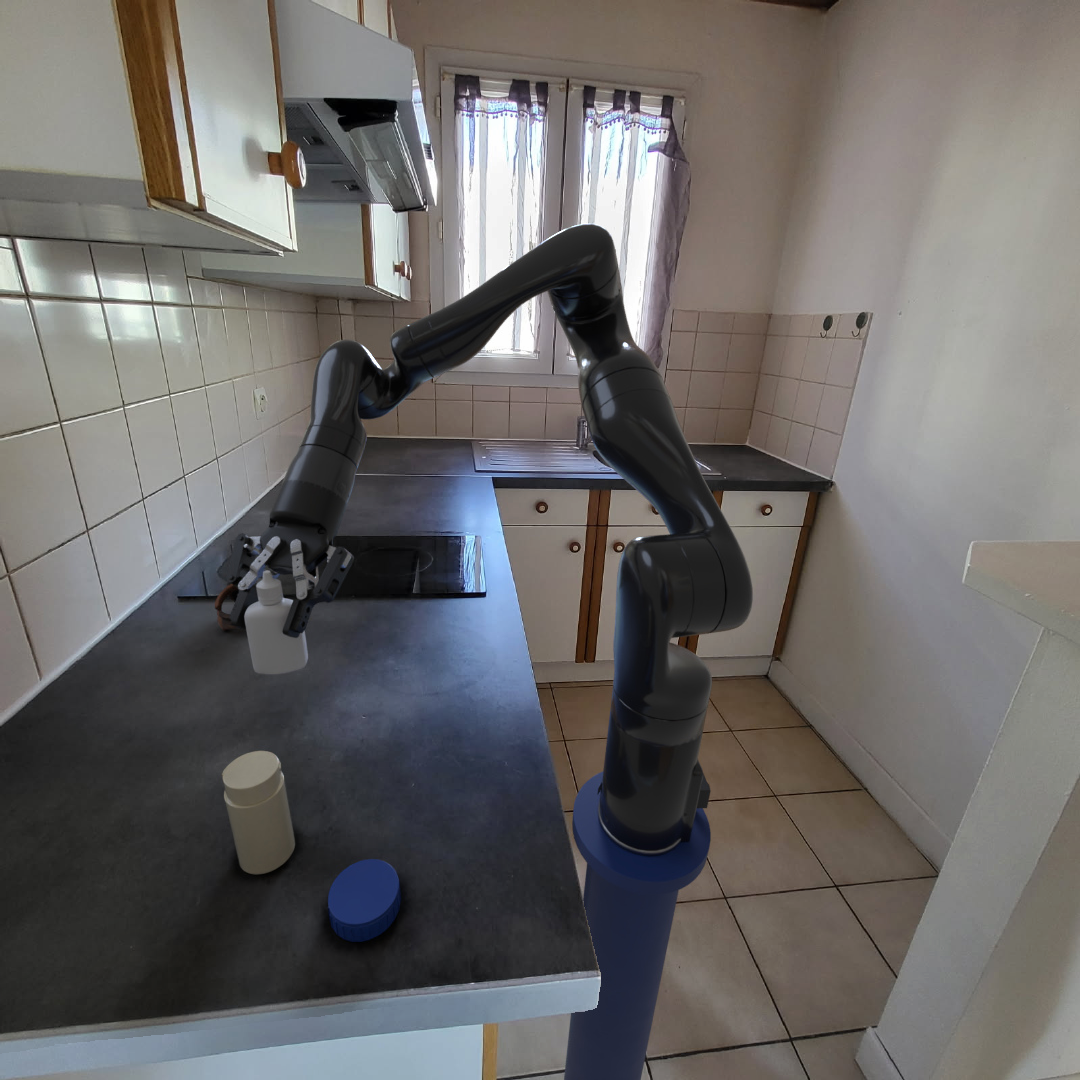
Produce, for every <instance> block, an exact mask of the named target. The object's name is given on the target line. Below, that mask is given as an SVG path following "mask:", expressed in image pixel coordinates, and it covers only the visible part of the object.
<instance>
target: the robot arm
mask: <svg viewBox="0 0 1080 1080" xmlns="http://www.w3.org/2000/svg"><path fill="white" fill-rule="evenodd" d="M622 285H623V284H622V278H621V273H620V268H619V261H618V257H617V251H616V246H615V242H614V239H613V237H612V234H610V232H609V231H608V230H607V229H606V228H604V227H603V226H601V225H599V224H595V223H582V224H577V225H574V226H573V225H572V226H571V227H568V228H564V229H563V230H561V231H559V232H557V233H555V234H554V235H551V236H550V237H549V238H547V239H546V240H544V241H542V242H541V243H539V244H538V245H536V246H535V247H534V248H532V249H531V250H529V251H528V252H527V253H525V254H523V255H522V256H521V257H519V258H517V259H516V260H515V261H513V262H512V263H510V264H508V265H507V266H506V267H504V268H503V269H502V270H500V271H499V272H497V273H496V274H495V275H493V276H491V278H489V279H488V280H486V281H485V282H483V283H482V284H481V285H479V286H477V287H476V288H475V289H473V290H472V291H470V292H469V293H467V294H466V295H464V296H463V297H461V298H459V299H458V300H456V301H454V302H452V303H451V304H448V305H447V306H445V307H443V308H441V309H438V310H436V311H434V312H432V313H430V314H428V315H426V316H424V317H422V318H419V319H418V320H415V321H413V322H412V323H409V324H407V325H405V326H403V327H401V328H399V329H397V330H395V331H394V332H393V333H392V334H391V335H390V338H389V347H390V351H391V354H392V357H393V359H394V360H393V361H392V362H391V363H390V364H389V365H388V366H387V367H386V368H383V369H382V367H381V366H380V364H379V363H378V361H377V360H376V359H375V357H374V356H373V355H372V353H371V352H370V351H369V350H368V349H367V347H365V346H364V345H363V344H362V343H360V342H358V341H356V340H353V339H341V340H337V341H335V342H333V343H331V345H329V346H328V347H327V348H325V350H323V352H322V353H321V355H320V356H319V358H318V360H317V362H316V366H315V367H314V372H313V378H312V388H311V398H310V409H309V412H310V413H309V422H308V425H307V427H306V429H305V432H304V434H303V436H302V439H301V442H300V444H299V447H298V449H297V451H296V453H295V455H294V456H293V458H292V460H291V462H290V463H289V465H288V467H287V470H286V472H285V475H284V477H283V480H282V482H281V485H280V488H279V490H278V493H277V495H276V498H275V499H274V502H273V505H272V507H271V510H270V511H269V525H268V526H267V528H266V530H265V531H263V532H262V533H261V535H259V536H258V535H257V536H249V535H248V534H245V533H243V532H242V533H241V532H240V533H238V534H237V535H236V537H235V539H234V540H235V541H234V545H233V548H232V552H231V558H230V560H229V565H228V569H227V573H226V578H225V580H226V582H227V583H230V584H232V585H234V586H236V587H237V588H238V590H239V594H238V596H237V599H236V601H235V602H234V604H233V607H232V610H231V611H230V613H229V614H230V620H231V625H232V626H234V627H237V629H239V630H246V625H245V618H244V616H245V612H246V610H247V608H248V607H249V606H250V605H252V604H253V603H256V602H258V601H259V600H258V597H257V596H258V594H257V588H256V585H257V583H258V582H260V581H262V580H263V572H264V571H267V570H269V571H270V572H271V574H272V577H273V579H278V578H279V577H280V575H283V576H288V575H292V577H293V580H294V582H295V593H296V595H295V597H296V598H297V599H292V600H293V602H292V605H291V608H290V611H289V613H288V616H287V619H286V622H285V624H284V627H283V634H284V635H287V636H289V637H293V638H298V637H299V635H300V633H303V632H304V630H306V629H307V625H308V623H309V620H310V617H311V614H312V612H313V609H314V606H316V605H318V603H319V604H320V603H332V602H333V601H334V599H335V597H336V595H338V591H340V588H341V586H342V584H343V582H344V580H345V579H346V577H347V574H348V572H349V570H350V569H351V567H352V565H353V563H354V561H355V556H354V555H353V554H352V553H351V552H349V550H347V549H346V548H345V547H344V546H337V547H335V546H334V545H333V540H334V539H335V538H336V537H337V535H338V532H339V529H340V526H341V524H342V520H343V518H344V514H345V512H346V509H347V506H348V504H349V501H350V498H351V495H352V492H353V489H354V485H355V479H356V475H357V471H358V468H359V465H360V463H361V460H362V457H363V454H364V451H365V447H366V444H367V439H368V432H367V430H366V427H365V425H364V423H363V420H364V421H365V420H368V421H369V420H376V419H379V418H382V417H384V416H386V415H387V414H389V413H390V412H392V411H393V410H394V409H396V408H397V407H398V406H399V405H400V404H401V403H402V402H403V401H405V400H406V399H407V398H408V397H410V395H412V394H413V393H414V392H416V390H418V388H420V387H421V386H422V385H423V384H425V383H426V382H428V381H429V380H432V379H434V378H437V377H439V376H441V375H443V374H445V373H448V372H449V371H452V370H454V369H456V368H458V367H460V366H462V365H464V364H466V363H467V362H469V361H471V360H472V359H473V358H475V357H476V356H477V355H478V354H479V353H480V352H481V351H482V350H483V349H484V348H485V347H486V346H487V344H488V343H489V341H491V340H492V338H493V337H494V335H495V334H496V333H497V332H498V330H499V329H500V328H501V326H503V324H504V323H505V322H506V321H507V319H508V318H509V317H511V315H512V314H513V313H515V311H517V310H518V309H519V308H520V307H521V306H522V305H523V304H525V303H527V302H528V301H530V300H532V299H533V298H535V297H537V296H540V295H542V294H545V293H546V292H547V295H548V298H549V301H550V304H551V308H552V311H553V313H554V315H555V317H556V319H557V321H558V324H559V326H560V327H561V329H562V331H563V333H564V335H565V337H566V339H567V341H568V343H569V345H570V348H571V350H572V352H573V355H574V357H575V360H576V365H577V386H578V394H579V395H578V396H579V401H580V404H581V409H582V413H583V417H584V419H585V423H586V426H587V429H588V432H589V436H590V439H591V441H592V444H593V447H594V448H595V450H596V452H597V453H598V454H599V456H600V457H601V458H602V459H603V460H604V462H605V463H606V464H607V465H608V466H609V467H610V468H611V469H612V470H613V471H614V472H615V473H617V475H618V476H620V477H621V478H622V479H623V480H624V481H626V483H628V484H629V485H630V486H631V487H632V488H633V489H635V490H636V491H637V492H638V493H640V495H641V496H642V497H644V499H646V500H647V501H648V502H649V504H650V505H651V506H652V507H653V508H654V510H656V512H657V513H658V514H659V516H660V518H661V520H662V521H663V523H664V525H665V527H666V529H667V531H668V533H669V534H656V535H653V534H652V535H644V536H643V535H642V536H637V537H634V538H633V539H631V540H630V541H629V542H627V544H626V545H625V547H624V549H623V550H622V552H621V555H620V558H619V563H618V568H617V575H616V590H615V595H616V596H615V613H614V614H615V615H614V630H613V631H614V632H613V641H612V642H613V643H612V644H613V645H612V646H613V647H612V648H613V649H612V650H613V651H612V652H613V668H614V672H613V681H612V691H611V698H610V699H611V701H610V710H609V719H608V727H607V734H606V743H605V753H604V761H603V771H602V772H603V778H602V783H601V784H600V786H599V788H598V794H599V792H600V791H601V794H600V801H599V806H598V818H599V822H600V825H601V827H602V829H603V831H604V833H605V834H606V835H607V836H608V838H609V839H610V840H611V841H612V842H613V843H615V844H616V845H617V846H619V847H620V848H622V849H624V850H626V851H628V852H630V853H633V854H637V855H641V856H659V855H663V854H666V853H668V852H670V851H672V850H673V849H675V848H676V847H677V846H678V845H679V844H680V843H682V842H689V841H690V838H691V833H692V828H693V823H694V818H695V813H696V808H703V809H708V806H709V801H710V796H711V792H712V791H711V786H710V783H708V781H707V779H706V776H705V773H704V770H703V768H702V765H701V762H700V761H699V753H700V748H701V743H702V739H703V734H704V728H705V723H706V718H707V712H708V708H709V703H710V700H711V699H710V697H711V693H712V686H713V678H712V673H711V670H710V668H709V666H708V665H707V664H706V663H705V661H704V660H703V659H702V658H701V657H699V656H698V655H697V654H695V653H694V652H692V651H691V650H689V649H688V648H686V647H684V646H682V645H679V644H676V643H673V642H671V640H672V639H674V638H684V637H692V636H701V635H708V634H715V633H721V632H727V631H732V630H735V629H738V628H739V627H741V626H743V624H745V622H746V621H747V620H748V618H749V617H750V614H751V612H752V608H753V602H754V591H753V590H754V589H753V581H752V577H751V572H750V567H749V565H748V562H747V560H746V556H745V554H744V551H743V549H742V547H741V545H740V543H739V541H738V539H737V537H736V535H735V533H734V531H733V530H732V528H731V526H730V524H729V521H728V520H727V518H726V517H725V514H724V513H723V511H722V509H721V508H720V505H719V504H718V502H717V499H716V497H715V496H714V494H713V492H712V491H711V489H710V488H709V486H708V483H707V482H706V480H705V478H704V476H703V474H702V472H701V470H700V468H699V466H698V463H697V460H696V458H695V456H694V454H693V452H692V449H691V448H690V445H689V443H688V440H687V438H686V436H685V434H684V430H683V429H682V426H681V423H680V421H679V418H678V415H677V412H676V409H675V406H674V404H673V401H672V399H671V396H670V394H669V391H668V389H667V386H666V384H665V381H664V379H663V377H662V374H661V372H660V370H659V369H658V366H657V365H656V363H655V362H654V361H653V360H652V358H651V357H650V356H649V354H648V353H647V352H646V351H644V350H643V349H642V348H641V347H640V346H639V345H638V344H637V343H636V342H635V340H634V337H633V335H632V333H631V329H630V325H629V321H628V318H627V312H626V309H625V302H624V293H623V286H622ZM260 550H261V553H260ZM256 556H257V557H256ZM325 561H326V562H327V564H326V566H325V568H324V570H323V571H322V573H321V575H320V576H319V566H320V565H321V564H322V563H324V562H325ZM266 567H267V568H268V569H266Z"/></svg>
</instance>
